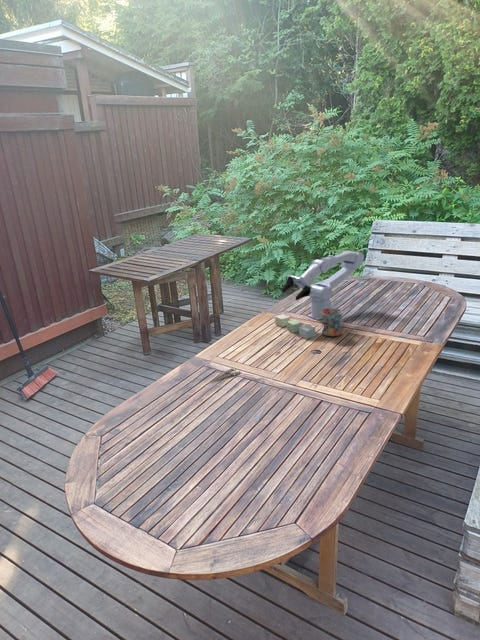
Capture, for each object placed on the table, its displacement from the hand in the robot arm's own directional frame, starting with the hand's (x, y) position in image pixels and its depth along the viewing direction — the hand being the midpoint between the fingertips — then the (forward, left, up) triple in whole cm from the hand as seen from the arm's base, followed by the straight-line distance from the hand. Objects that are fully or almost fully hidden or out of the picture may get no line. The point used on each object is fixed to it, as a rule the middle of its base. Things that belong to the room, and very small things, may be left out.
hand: (289, 294), depth 207 cm
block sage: (0, +3, -16) cm, 17 cm away
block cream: (0, -6, -16) cm, 17 cm away
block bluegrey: (0, +12, -16) cm, 20 cm away
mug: (-11, +17, -16) cm, 26 cm away
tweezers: (+51, +23, -17) cm, 59 cm away
